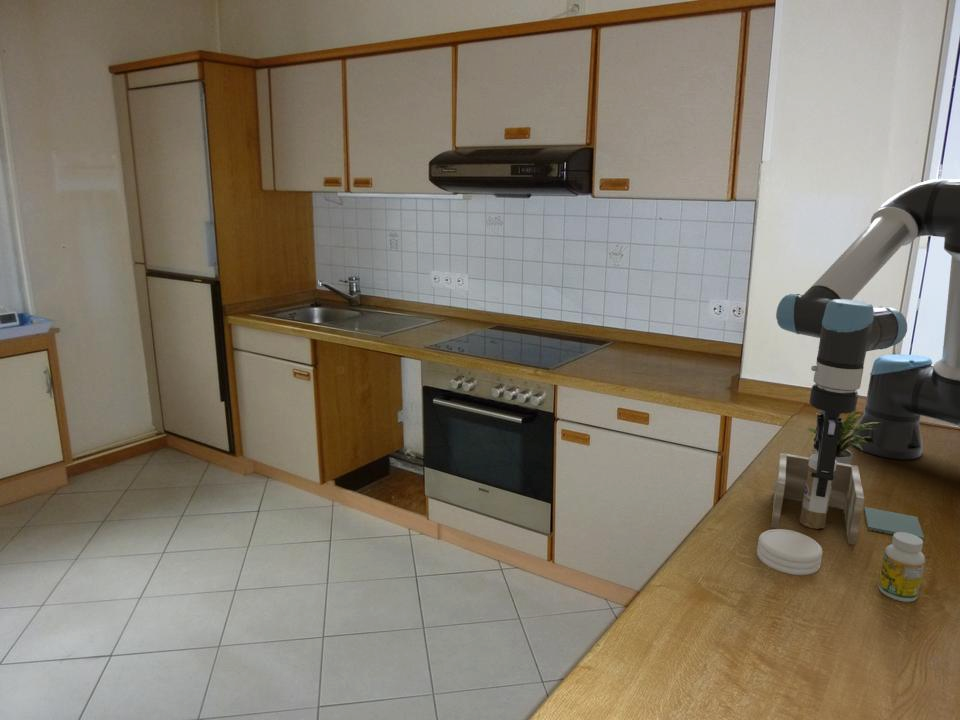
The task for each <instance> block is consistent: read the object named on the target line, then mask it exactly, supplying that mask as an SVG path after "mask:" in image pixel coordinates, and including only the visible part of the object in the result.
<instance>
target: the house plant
mask: <svg viewBox="0 0 960 720" xmlns="http://www.w3.org/2000/svg"><path fill="white" fill-rule="evenodd" d="M856 410H857V408H856V409H855V411H854V412H852V413H849V415H848V416H847V417H846V418H845V419H844V420H843V421H842V429H841V431H840V435H839V442H838V444H837V451H836V458H835V459H836V461H837V462H838V463H844V464H849V465H851V461H852V458H853V456H854V455H853V453H852V451H850V450H849V449H850V448H851V447H854V445H856V446H858V447H860V448H861V449H862V446H861V445H860V444H858V443H856V442H866V441H865V440H863V439H864V438H866V437H868V436H865V437H861V436H859V435H853V434H854V433H856V432H857V431H858V430H863V429H872V428H864V427H868V426H869V425H867V424H872V423H880V422H870V423H864V424H861V425H859V426H857V424H856V423H857V421H858V419H859V417H862V416H863V414H864V412H862V413H861V412H860V413H858V414H855V413H856ZM814 414H815V415H816V416H817V415H818V414H819V413H817V412H815V411H814ZM839 417H841V414H839ZM855 424H856V425H855ZM864 425H866V426H864ZM856 426H857V427H856ZM859 427H860V428H859ZM871 427H872V426H871ZM805 431H809V432H812V433H814V434H815V435H816V428H811V427H810V428H806V429H805ZM849 434H850V435H849ZM853 437H860V438H858V439H853V440H851V438H853ZM861 451H862V452H864V451H863V449H862V450H861Z"/></svg>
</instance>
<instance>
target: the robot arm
mask: <svg viewBox="0 0 960 720" xmlns="http://www.w3.org/2000/svg"><path fill="white" fill-rule="evenodd" d="M924 236H932V237H938V238H944V242H943V249H944V251H945V252H946V253H948V254H949V255H950V256H951V260H950V261H951V262H950V271H949V284H948V293H947V305H946V315H945V325H944V335H943V336H944V337H943V345H942V347H943V348H942V356H941V359H939V360H938V361H936V362H935V363H933V361H932V359H931V358H930V357H927V356H923V355H915V354H902V353H901V354H886V355H885V354H884V355H880V356H878V357H877V358H875V360H874V361H873V364H872V368H871V371H870V373H869V375H870V376H869V382H868V383H869V384H868V388H867V394H866V399H865V407H864V410H863V411H864V412H863V414H862V415H861V416H860V419H859V420H858V422H857V424H856V425H857V426H859V425H861V424H864V423H870V422H880V423H872V424H867V425H869V426H868V427H864V428H872V429H863V430H858V431H857V432H856V433H854V434H853V435H859V436H861V437H865V436H868V437H866V438H864V439H863V440H865V441H866V442H856V443H858V444H860V445H861V446H862V449H863V451H862V449H861V448H860V447H858V446H856V445H853V447H855V448H857V450H861V451H862V452H866V453H869V454H871V455H876V456H878V457H883V458H887V459H894V460H914V459H917V458H920V457H921V456H922V453H923V447H924V444H923V438H922V432H921V427H920V420H921V416H922V417H925V418H929V419H932V420H936V421H940V422H943V423H946V424H951V425H953V426H957V427H958V428H960V179H947V178H936V179H930V180H926V181H923V182H919V183H917V184H915V185H911V186H909V187H908V188H906V189H904V190H902V191H900V192H899V193H897V194H895V195H893V196H892V197H890V198H889V199H888V200H887V201H885V202H884V203H883V204H881V206H880V207H879V208H878V209H877V210H876V211H875V212H874V213H873V214H872V216H871V219H870V224H869V226H867V227H866V228H865V230H864V231H863V232H862V233H861V234H859V236H858V237H857V238H856V239H855V240H854V241H853V243H851V245H849V246H848V248H847V249H846V250H844V252H843V253H842V254H841V255H840V256H839V257H838V258H837V259H836V260H835V261H834V263H832V264H831V265H830V266H829V267H828V268H827V270H825V272H824V273H823V274H822V275H820V277H819V278H818V279H817V280H816V281H815V282H814V283H813V284H812V286H810V288H808V289H807V290H806V291H805V292H804V293H803V294H800V293H790V294H787V295H784V296H783V297H782V298H781V300H780V301H779V303H778V305H777V308H776V313H775V314H776V315H775V319H776V322H777V326H779V327H780V328H781V329H782V330H784V331H787V332H789V333H790V332H791V333H793V334H796V335H802V336H806V337H813V338H817V339H819V344H818V351H817V356H816V362H815V363H816V365H812V366H811V369H810V370H811V372H812V371H813V372H814V375H813V380H812V381H813V382H814V384H813V385H812V386H811V389H810V394H809V395H810V396H809V404H810V406H811V407H813V408H815V409H816V410H819V411H820V412H819V413H817V414H818V415H816V427H815V430H816V434H815V436H814V438H813V449H812V454H811V455H813V454H818V461H817V470H816V473H813V472H812V473H811V477H814V481H813V486H812V492H811V498H810V504H809V511H814V512H819V513H824V514H825V513H826V508H827V502H828V497H829V491H830V486H831V481H832V480H833V479H834V476H833V473H834V466H835V458H836V451H837V444H838V442H839V435H840V431H841V429H842V423H843V421H842V419H843V418H842V417H841V416H840V417H839V414H840V415H842V414H851V413H852V412H854V411H855V409H856V410H857V403H858V398H859V392H858V390H859V389H860V388H861V383H862V378H863V373H864V364H865V361H866V355H867V352H871V351H876V350H886V349H889V348H891V347H894V346H896V345H898V344H900V343H901V341H903V339H904V338H905V337H906V335H907V332H908V322H907V320H906V317H905V316H904V314H903V313H902V312H901V311H900V310H898V309H897V308H893V307H889V306H888V307H885V306H878V307H874V306H873V305H872V304H871V303H869V302H866V301H864V300H863V301H862V300H857V299H856V300H855V299H854V298H855V297H856V296H857V295H858V294H859V293H860V292H861V291H862V290H863V289H864V288H865V286H866V285H868V283H869V282H870V281H871V280H872V279H873V278H874V277H875V276H876V275H877V273H878V272H880V270H881V269H882V268H883V267H884V266H885V265H886V264H887V263H888V261H890V259H891V258H892V257H893V256H894V255H895V254H896V253H897V252H898V251H899V250H900V248H901V247H904V246H907V245H910V244H912V243H913V242H914V241H915V240H916V238H918V237H924ZM932 364H933V365H932ZM855 412H856V411H855ZM856 425H855V427H857V426H856ZM864 426H866V425H864ZM871 426H872V427H871ZM859 428H860V427H859ZM858 438H860V437H853V438H850V440H853V439H858ZM821 471H827V472H829V473H826V472H821Z"/></svg>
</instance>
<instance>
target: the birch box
mask: <svg viewBox="0 0 960 720" xmlns="http://www.w3.org/2000/svg"><path fill="white" fill-rule="evenodd" d="M809 458H810V457H806V456H802V455H796V454H789V453H784V452H780V453H779V460H778V465H777V466H778V467H777V473H776V479H775V486H774V492H773V503H772V514H771V528H772V527H773V528H772V529H777V528H778V529H779V528H780V527H779V525H780V520H781V519H780V518H781V513H782V507H783V500H784V499H787V500H788V499H789V500H794V501H799V502H803V498H804V492H805V487H806V483H807V477H808V471H809V465H808V464H809ZM833 476H834V479H833V481H832V489H831V495H830V500H829V506H831V507H830V508H835V507H837V508H836V509H840V508H843V509H842V510H843V515H844V514H845V516H844V522H846V524H845V530H846V529H847V531H846V537H848V539H847V544H849V543H851V544H850V545H854V546H855V545H856V544H857V540H858V533H859V528H860V524H861V519H862V512H863V509H864V502H865V496H864V490H863V487H862V481H861V476H860V471H859V466H858V465H856V464H855V465H854V464H844V463H838V462H837V464H836V470H835V471H834V475H833ZM829 506H828V507H829Z"/></svg>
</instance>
